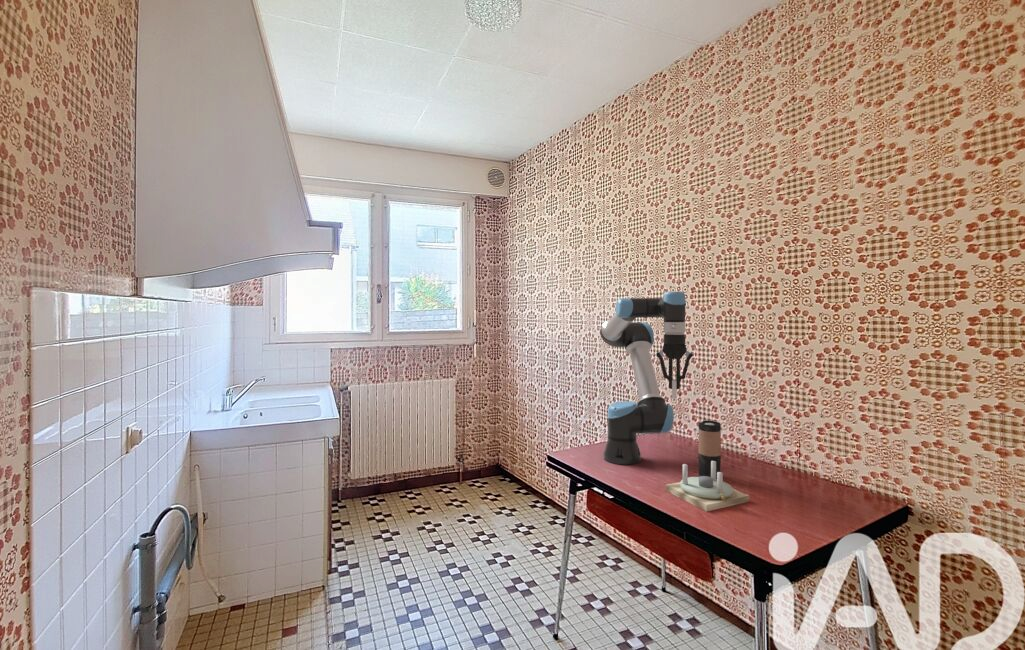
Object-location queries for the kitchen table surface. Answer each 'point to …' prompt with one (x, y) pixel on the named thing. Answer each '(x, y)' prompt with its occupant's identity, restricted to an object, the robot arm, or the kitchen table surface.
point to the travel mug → (709, 447)
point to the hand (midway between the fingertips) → (674, 397)
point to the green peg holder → (706, 484)
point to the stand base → (707, 503)
